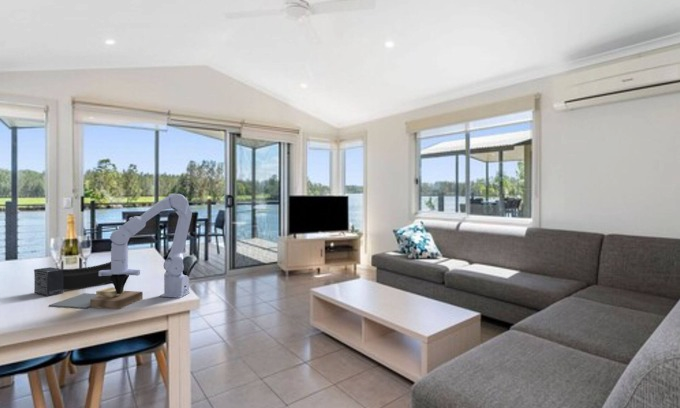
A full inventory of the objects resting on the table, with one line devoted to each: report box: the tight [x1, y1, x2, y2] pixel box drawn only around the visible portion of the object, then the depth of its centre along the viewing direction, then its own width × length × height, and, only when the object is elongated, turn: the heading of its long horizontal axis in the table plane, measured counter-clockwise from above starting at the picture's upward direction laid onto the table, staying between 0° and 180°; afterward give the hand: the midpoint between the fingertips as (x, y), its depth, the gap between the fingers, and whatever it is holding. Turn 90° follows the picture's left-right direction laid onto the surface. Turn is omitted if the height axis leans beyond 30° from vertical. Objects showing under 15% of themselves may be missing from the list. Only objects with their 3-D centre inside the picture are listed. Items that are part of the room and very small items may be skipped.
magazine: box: [56, 261, 112, 291], centre depth 161 cm, size 17×3×30 cm
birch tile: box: [95, 286, 125, 297], centre depth 139 cm, size 7×6×2 cm
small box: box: [33, 267, 64, 297], centre depth 149 cm, size 11×6×10 cm, turn 65°
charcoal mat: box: [48, 292, 99, 309], centre depth 140 cm, size 16×16×1 cm
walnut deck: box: [89, 290, 143, 310], centre depth 138 cm, size 12×13×3 cm
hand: (119, 293), depth 138 cm, fingers closed
